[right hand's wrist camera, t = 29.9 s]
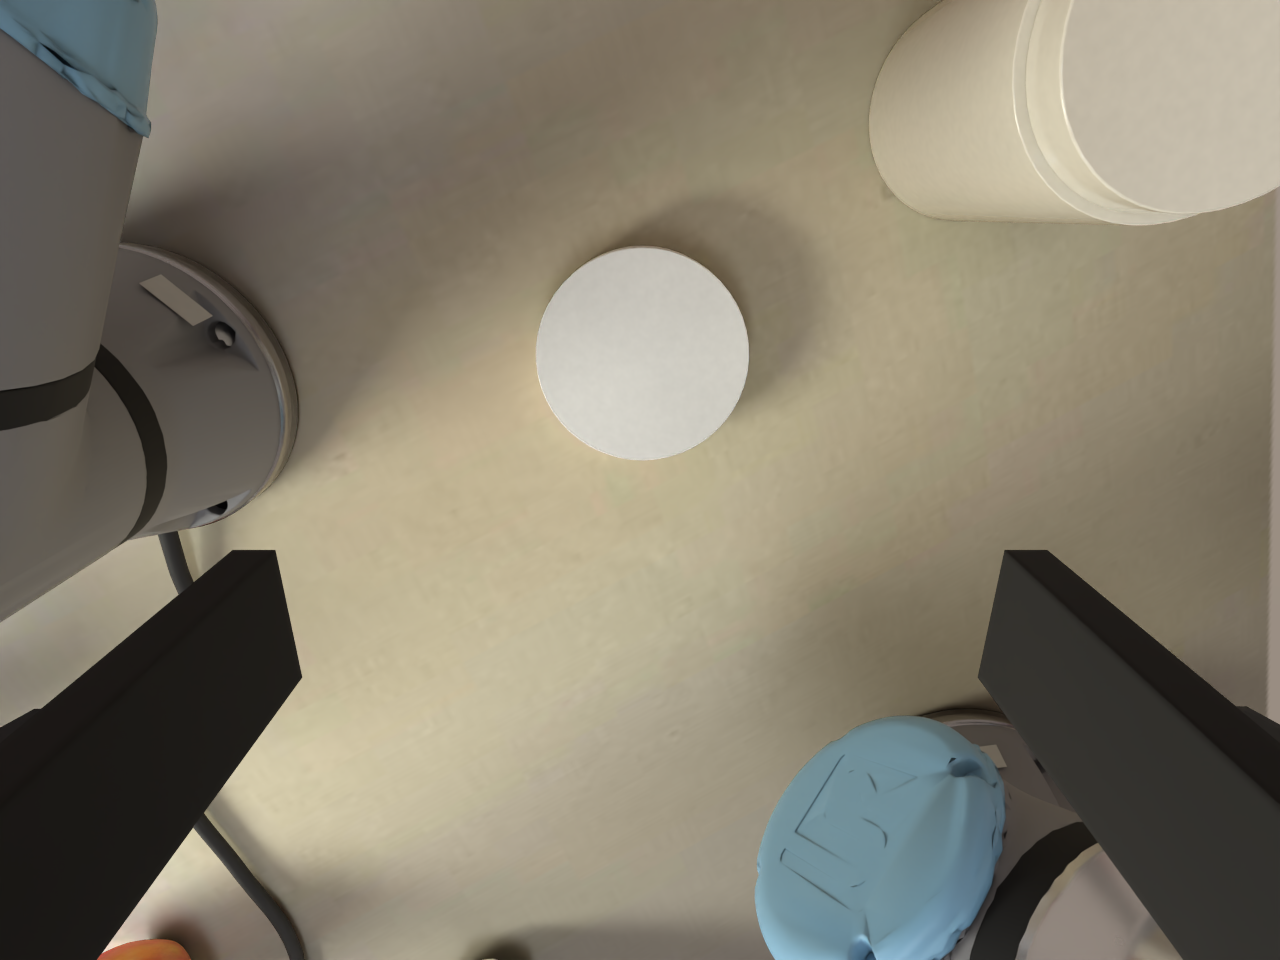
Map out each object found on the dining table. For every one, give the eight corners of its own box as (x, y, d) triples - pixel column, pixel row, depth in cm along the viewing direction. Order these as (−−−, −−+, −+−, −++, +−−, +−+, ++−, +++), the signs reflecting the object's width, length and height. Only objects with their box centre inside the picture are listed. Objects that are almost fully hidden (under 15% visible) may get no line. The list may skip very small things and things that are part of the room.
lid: (506, 296, 36) (498, 301, 34) (700, 209, 35) (703, 209, 33) (592, 475, 40) (589, 489, 38) (771, 404, 38) (778, 414, 36)
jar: (1114, 119, 33) (1489, 45, 19) (942, 262, 36) (1153, 298, 21) (1005, -65, 31) (1342, -319, 16) (827, 103, 33) (977, 16, 18)
